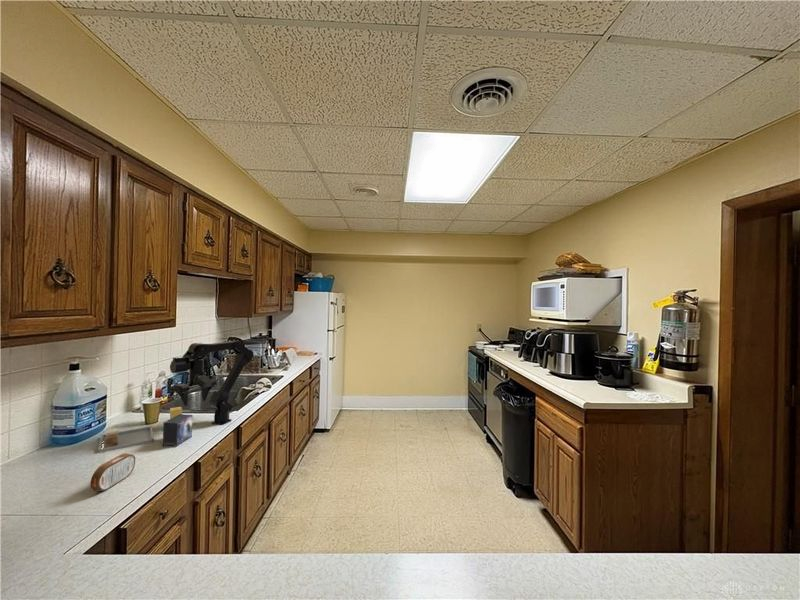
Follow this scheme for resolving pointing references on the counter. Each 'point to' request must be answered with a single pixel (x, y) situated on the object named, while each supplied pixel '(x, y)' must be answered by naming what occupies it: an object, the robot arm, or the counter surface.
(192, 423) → the mat
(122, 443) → the tray
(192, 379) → the robot arm
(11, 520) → the counter surface
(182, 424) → the small box
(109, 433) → the off-white block
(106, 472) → the tin
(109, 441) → the walnut block
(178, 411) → the mustard box
